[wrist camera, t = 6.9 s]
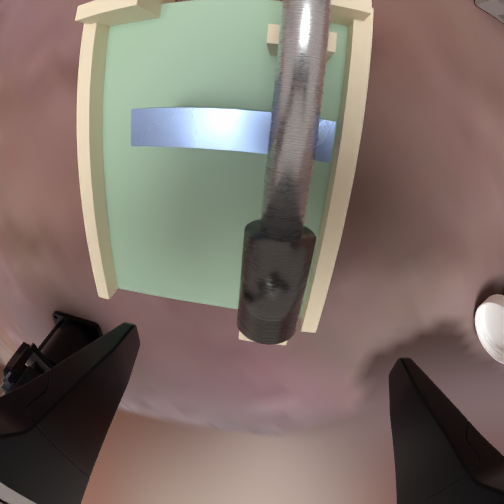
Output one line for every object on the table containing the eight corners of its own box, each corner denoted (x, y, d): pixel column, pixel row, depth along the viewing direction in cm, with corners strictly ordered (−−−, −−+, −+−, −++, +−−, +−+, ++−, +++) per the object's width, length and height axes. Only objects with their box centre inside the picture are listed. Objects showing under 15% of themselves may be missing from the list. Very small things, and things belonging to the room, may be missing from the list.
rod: (172, 261, 19) (134, 321, 14) (201, -85, 8) (170, -134, 2) (294, 277, 19) (296, 347, 13) (334, -81, 7) (349, -134, 2)
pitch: (118, 273, 23) (89, 308, 19) (131, -56, 10) (97, -80, 6) (312, 301, 22) (316, 348, 18) (359, -58, 9) (377, -93, 5)
